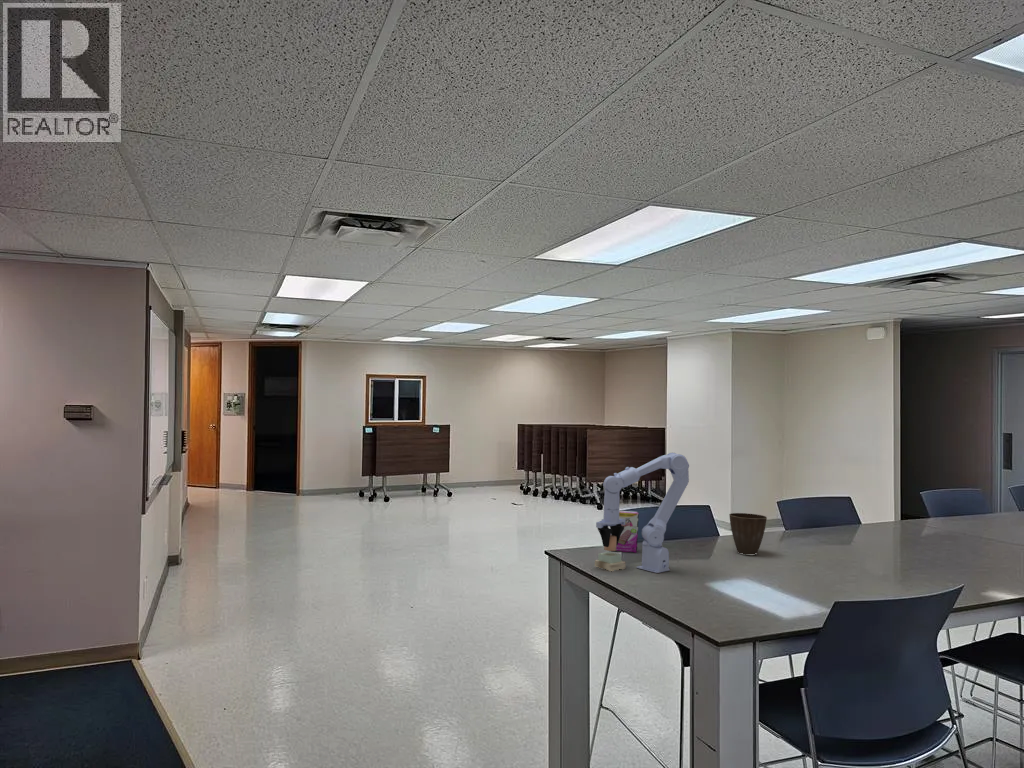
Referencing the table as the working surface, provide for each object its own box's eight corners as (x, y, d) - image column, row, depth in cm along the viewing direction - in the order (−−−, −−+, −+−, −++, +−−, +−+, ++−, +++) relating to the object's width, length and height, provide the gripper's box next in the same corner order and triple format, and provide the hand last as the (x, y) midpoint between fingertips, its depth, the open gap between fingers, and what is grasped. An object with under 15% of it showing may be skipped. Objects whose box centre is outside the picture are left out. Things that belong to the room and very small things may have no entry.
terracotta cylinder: (618, 550, 251) (619, 536, 251) (611, 551, 248) (611, 537, 248) (609, 547, 254) (609, 534, 254) (601, 549, 251) (601, 535, 251)
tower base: (625, 570, 250) (625, 561, 250) (611, 572, 245) (611, 564, 245) (608, 565, 256) (608, 557, 256) (594, 568, 251) (594, 560, 251)
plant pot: (721, 552, 286) (722, 514, 286) (739, 548, 296) (740, 511, 296) (754, 559, 275) (755, 519, 275) (772, 555, 285) (773, 516, 285)
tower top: (621, 561, 251) (621, 554, 251) (610, 563, 246) (611, 556, 247) (608, 558, 255) (608, 551, 255) (598, 560, 251) (598, 553, 251)
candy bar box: (610, 551, 279) (611, 511, 280) (609, 549, 284) (611, 509, 285) (637, 553, 278) (639, 513, 279) (636, 550, 283) (637, 511, 284)
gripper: (615, 506, 259) (614, 541, 259) (590, 508, 250) (589, 545, 249) (630, 508, 254) (629, 545, 253) (605, 511, 244) (603, 549, 244)
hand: (610, 545), depth 251 cm, fingers closed on terracotta cylinder, 4 cm apart
